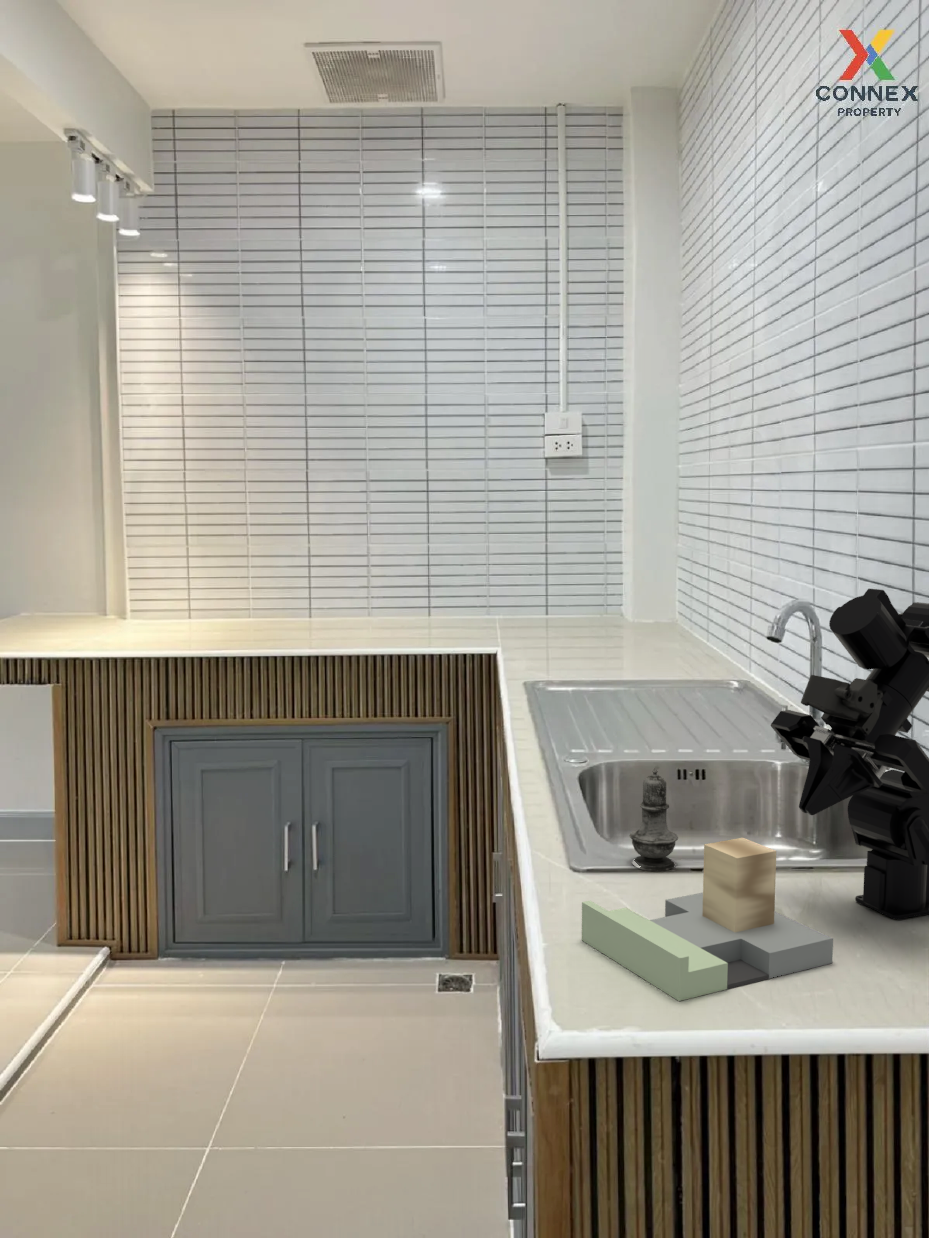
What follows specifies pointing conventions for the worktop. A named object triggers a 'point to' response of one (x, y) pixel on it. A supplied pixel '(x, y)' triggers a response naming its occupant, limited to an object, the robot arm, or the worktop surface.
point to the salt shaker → (654, 828)
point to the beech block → (739, 884)
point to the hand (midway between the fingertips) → (805, 811)
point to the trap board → (701, 947)
